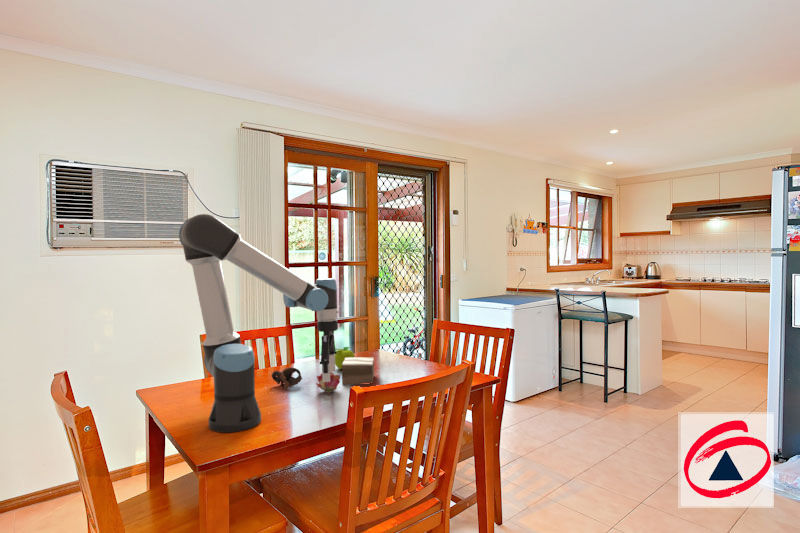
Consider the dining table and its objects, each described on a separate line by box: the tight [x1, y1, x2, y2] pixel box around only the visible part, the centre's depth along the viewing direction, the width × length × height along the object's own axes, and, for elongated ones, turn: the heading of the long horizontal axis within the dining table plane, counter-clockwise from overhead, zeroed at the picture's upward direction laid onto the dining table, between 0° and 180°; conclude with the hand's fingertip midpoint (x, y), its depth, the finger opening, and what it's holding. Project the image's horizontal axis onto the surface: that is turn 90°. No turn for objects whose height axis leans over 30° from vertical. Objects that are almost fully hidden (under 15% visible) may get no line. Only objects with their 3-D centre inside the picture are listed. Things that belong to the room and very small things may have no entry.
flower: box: [315, 372, 341, 396], centre depth 169 cm, size 10×9×8 cm
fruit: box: [334, 346, 356, 370], centre depth 203 cm, size 9×9×10 cm
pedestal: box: [341, 356, 375, 386], centre depth 185 cm, size 12×12×8 cm
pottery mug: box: [271, 366, 303, 390], centre depth 178 cm, size 12×10×8 cm
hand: (329, 376), depth 170 cm, fingers open, 13 cm apart
